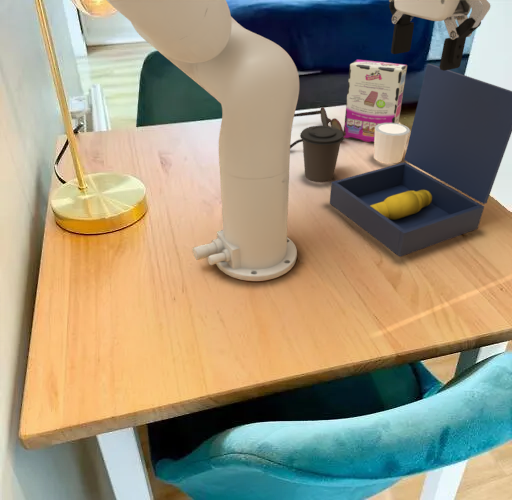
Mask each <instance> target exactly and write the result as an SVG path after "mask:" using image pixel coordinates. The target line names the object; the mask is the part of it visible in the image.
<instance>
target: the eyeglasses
mask: <svg viewBox="0 0 512 500" xmlns="http://www.w3.org/2000/svg"><path fill="white" fill-rule="evenodd" d="M316 115H320V121H321V126H329V124H330V127H334V128H336V129H339V130H340V131H341V132H342V133H343V135H344V136H346V132H344V129H343V127H342V124H341V122H340V121H339V119H337V118H335V117H334V118H332V119H331V118H329V117H328V114H327V111H326V109H325V107H324V106H321V108H320V109H319V110H313V111H306V112H305V111H304V112H298V113H295V114H294V118H295V117H304V116H305V117H307V116H316ZM299 143H303V139H301V138H300V139H297V140H295V141H293V142H292V143H290V150H291V149H292V148H293V147H295V146H296V145H297V144H299Z"/></svg>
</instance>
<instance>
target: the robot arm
mask: <svg viewBox="0 0 512 500" xmlns="http://www.w3.org/2000/svg"><path fill="white" fill-rule="evenodd" d="M106 2H107V3H109V4H110V5H111V6H112V7H113V8H114V9H115V10H116V11H118V12H119V13H120V14H121V15H122V16H123V17H124V18H125V19H127V20H128V21H129V22H130V23H131V25H132V27H133V28H134V30H135V32H136V33H137V35H139V36H140V37H141V38H142V39H143V40H144V41H145V42H146V43H148V44H149V45H150V46H151V47H153V48H154V49H155V50H157V52H159V53H160V54H161V55H162V56H164V58H166V59H167V60H168V61H169V62H171V63H172V64H173V65H174V66H175V67H177V68H178V69H179V70H180V71H182V72H183V73H184V74H185V75H186V76H187V77H189V78H190V79H191V80H193V81H194V82H195V83H196V84H198V85H199V86H200V87H201V88H202V89H203V90H204V91H206V92H207V93H208V94H209V95H210V96H212V97H213V98H214V100H215V99H216V101H217V102H218V103H219V104H220V105H221V113H222V116H221V123H220V127H219V134H218V167H219V182H220V184H219V185H220V199H221V201H220V202H221V218H222V229H220V230H218V231H216V238H215V239H212V240H211V242H210V243H207V244H201V245H197V246H194V247H192V248H191V249H192V254H193V257H194V259H195V260H196V261H199V260H200V261H201V260H202V259H206V258H207V262H208V265H209V266H213V265H216V267H217V268H218V269H219V270H220V271H221V272H222V273H224V274H225V275H227V276H228V277H231V278H233V279H237V280H241V281H247V282H264V281H268V280H273V279H276V278H279V277H281V276H283V275H285V274H287V273H288V272H289V271H290V270H292V268H293V267H294V266H295V264H296V262H297V257H298V249H297V246H296V244H295V243H294V242H293V240H292V239H291V238H289V237H288V221H289V216H288V215H289V193H290V166H291V165H290V160H291V149H290V145H291V141H292V140H291V139H292V130H293V123H294V118H295V117H294V114H296V109H297V106H298V105H297V104H298V100H299V95H300V77H299V71H298V68H297V66H296V64H295V62H294V60H293V59H292V57H291V56H290V54H289V53H288V52H287V51H286V50H285V49H284V48H283V47H281V46H280V45H279V44H277V43H276V42H274V41H272V40H270V39H269V38H266V37H264V36H262V35H260V34H257V33H256V32H253V31H251V30H249V29H246V28H245V27H244V26H242V25H241V24H240V23H238V22H237V20H235V19H234V18H233V16H231V10H230V7H229V5H228V1H227V0H106ZM388 3H389V5H388V7H389V8H388V9H389V11H390V13H391V23H392V24H393V33H392V41H391V48H390V53H391V54H392V55H398V54H403V53H408V52H410V51H411V49H412V41H413V35H414V28H415V22H413V21H412V20H413V19H414V17H416V18H420V19H423V20H428V21H432V22H443V23H444V25H445V28H446V31H447V33H448V37H446V38H445V39H444V40H443V46H442V51H441V57H440V63H439V67H440V69H441V70H443V71H445V70H450V71H451V70H455V69H459V68H460V66H461V63H462V59H463V54H464V50H465V45H466V40H467V38H469V37H471V36H472V34H473V32H475V31H476V30H477V29H478V28H479V27H481V25H482V21H483V20H484V19H485V17H486V15H487V14H488V12H489V11H490V9H491V3H490V2H489V1H488V0H388Z"/></svg>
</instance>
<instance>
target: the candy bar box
mask: <svg viewBox="0 0 512 500" xmlns="http://www.w3.org/2000/svg"><path fill="white" fill-rule="evenodd" d="M407 70H408V65H407V64H403V63H393V62H384V61H374V60H367V59H356V60H354V61H353V62H351V63H350V64H349V71H348V80H347V81H348V82H347V93H346V94H347V95H346V104H345V116H344V126H343V131H344V132H346V136H344V139H348V140H353V141H359V142H363V143H364V142H365V143H370V144H374V137H375V127H376V125H378V124H381V123H398V124H400V118H401V117H400V116H401V110H402V103H403V96H404V90H405V84H406V78H407Z"/></svg>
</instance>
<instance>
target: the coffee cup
mask: <svg viewBox="0 0 512 500" xmlns="http://www.w3.org/2000/svg"><path fill="white" fill-rule="evenodd" d="M299 137H300V139H303V142H302V151H303V163H304V164H303V166H304V177H305V178H306V180H308V181H311V182H314V183H327V182H330V181H331V180H333V178H334V176H335V171H336V166H337V163H338V162H337V161H338V156H339V152H340V147H341V144H342V141H343V140H344V139H345V138H344V135H343V133H342V132H341V131H340V130H339V129H336V128H334V127H331V126H329V125H328V126H323V125H313V126H309V127H306V128H303V130H302V131H301V132H300V135H299Z"/></svg>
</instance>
